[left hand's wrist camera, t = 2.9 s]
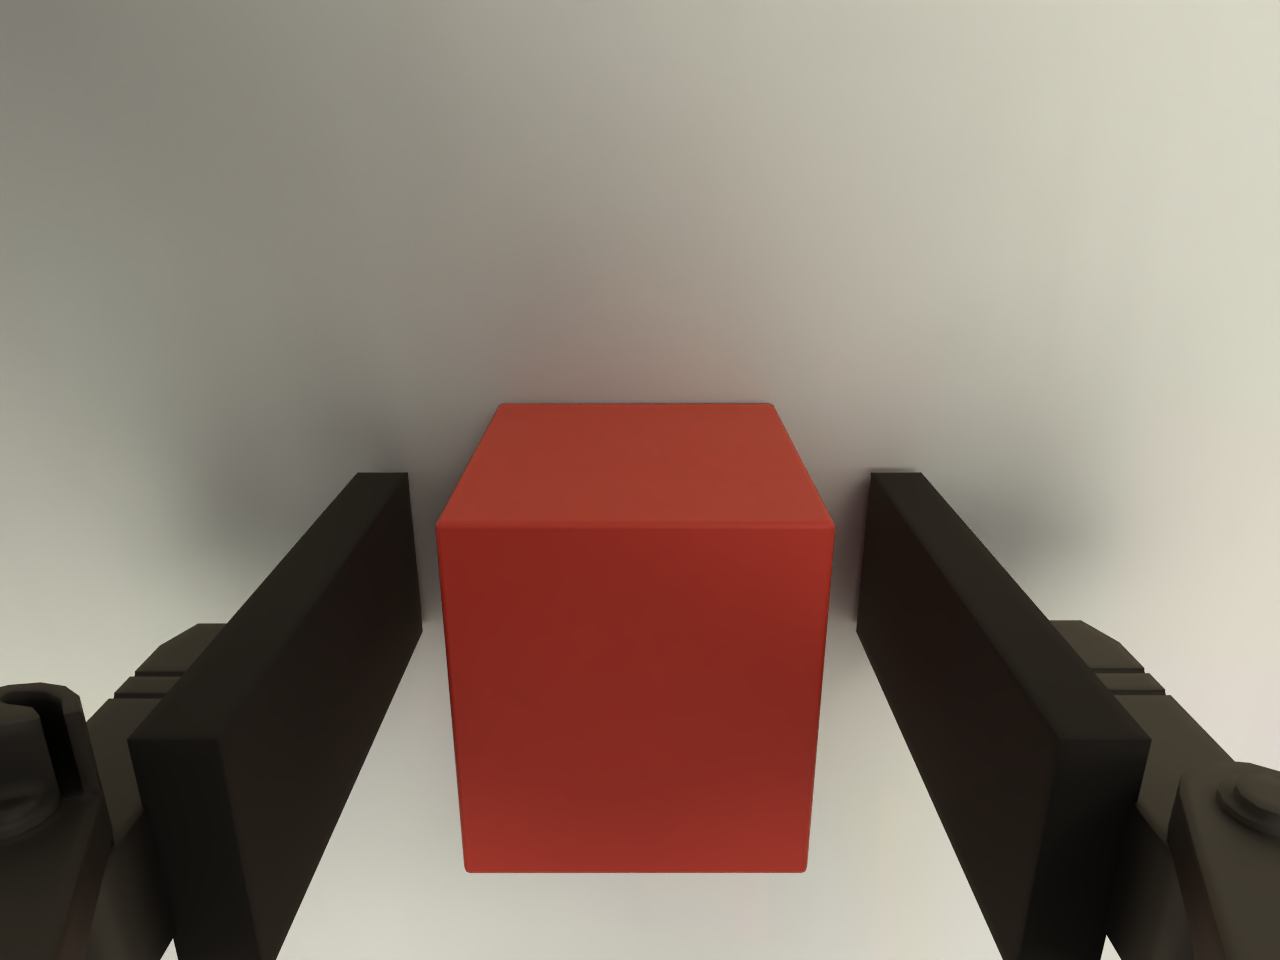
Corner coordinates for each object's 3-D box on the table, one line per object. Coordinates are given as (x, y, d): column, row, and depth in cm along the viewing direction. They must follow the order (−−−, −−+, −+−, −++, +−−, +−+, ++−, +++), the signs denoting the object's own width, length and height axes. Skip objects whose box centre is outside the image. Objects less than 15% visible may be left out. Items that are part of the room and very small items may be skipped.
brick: (759, 667, 15) (807, 875, 11) (513, 667, 15) (463, 876, 11) (773, 403, 13) (837, 523, 9) (498, 402, 13) (432, 522, 9)
